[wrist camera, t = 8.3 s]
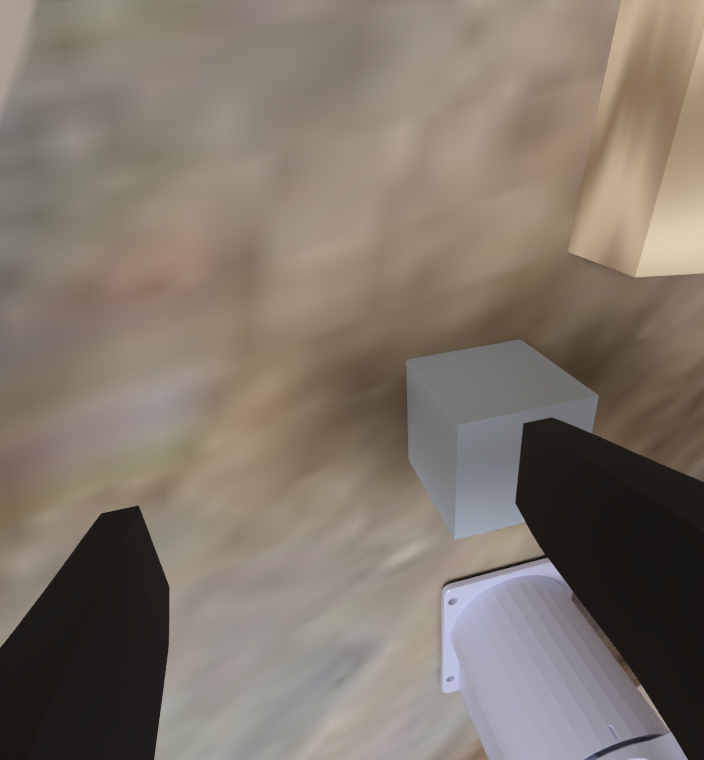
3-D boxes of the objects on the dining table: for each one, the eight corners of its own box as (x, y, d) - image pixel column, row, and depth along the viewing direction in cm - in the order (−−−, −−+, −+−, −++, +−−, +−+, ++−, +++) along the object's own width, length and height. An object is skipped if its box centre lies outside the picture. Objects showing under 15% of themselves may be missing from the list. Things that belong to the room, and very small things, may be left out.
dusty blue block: (510, 436, 23) (577, 509, 19) (408, 458, 22) (454, 540, 18) (519, 338, 21) (598, 395, 17) (405, 358, 20) (458, 424, 16)
